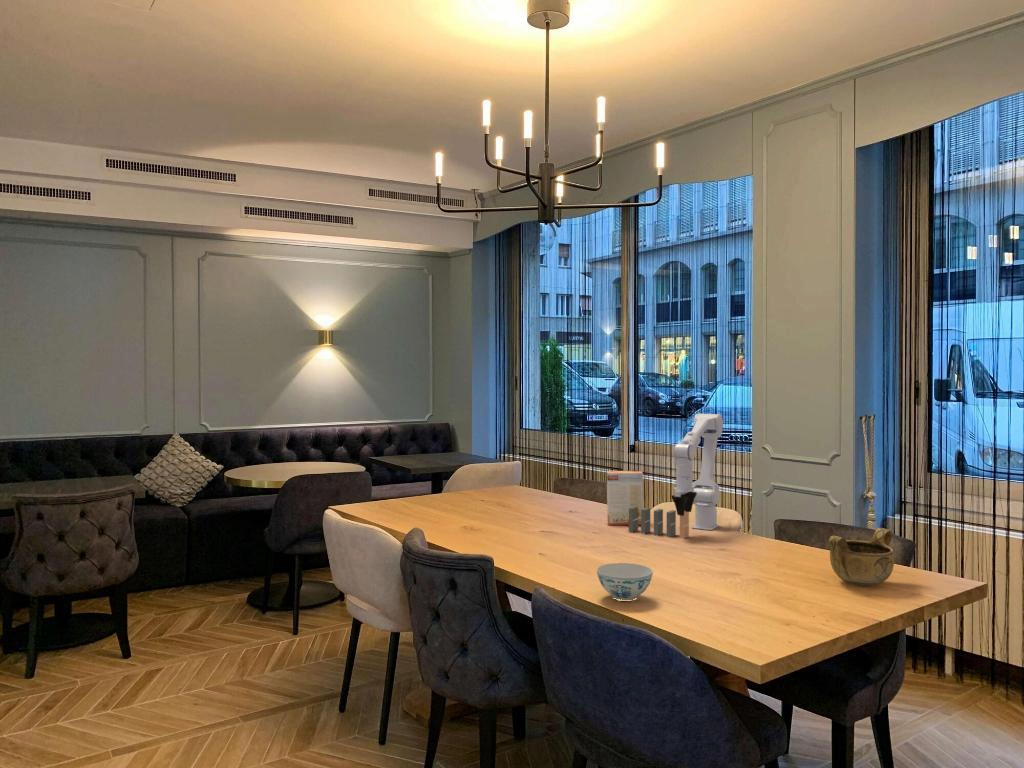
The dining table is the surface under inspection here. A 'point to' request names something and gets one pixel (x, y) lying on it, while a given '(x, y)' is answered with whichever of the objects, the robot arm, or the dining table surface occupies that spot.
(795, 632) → the dining table surface
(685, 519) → the terracotta domino
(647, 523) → the domino
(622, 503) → the cracker box
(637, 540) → the dining table surface
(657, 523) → the domino
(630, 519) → the end domino
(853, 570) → the ceramic bowl
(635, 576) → the chinaware
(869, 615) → the dining table surface
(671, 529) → the domino
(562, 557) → the dining table surface
